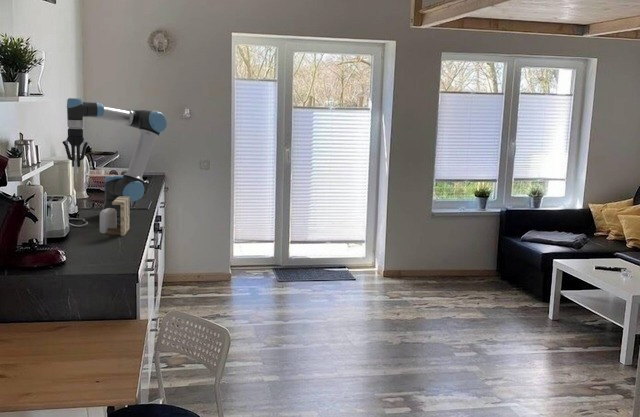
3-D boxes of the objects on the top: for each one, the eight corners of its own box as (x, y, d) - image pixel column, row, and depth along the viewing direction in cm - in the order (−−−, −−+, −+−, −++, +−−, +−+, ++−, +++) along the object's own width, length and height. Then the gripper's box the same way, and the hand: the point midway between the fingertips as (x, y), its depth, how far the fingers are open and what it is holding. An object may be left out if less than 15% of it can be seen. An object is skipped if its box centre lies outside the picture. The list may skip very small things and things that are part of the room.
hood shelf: (113, 228, 332) (112, 196, 329) (129, 228, 333) (129, 196, 330) (106, 235, 314) (106, 202, 311) (123, 235, 315) (123, 202, 312)
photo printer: (111, 229, 328) (111, 206, 326) (118, 230, 327) (118, 207, 325) (98, 233, 319) (98, 209, 316) (105, 234, 317) (105, 210, 315)
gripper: (60, 128, 320) (61, 173, 324) (86, 129, 322) (87, 174, 326) (64, 127, 327) (65, 171, 331) (89, 128, 329) (90, 172, 333)
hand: (76, 173), depth 329 cm, fingers closed
